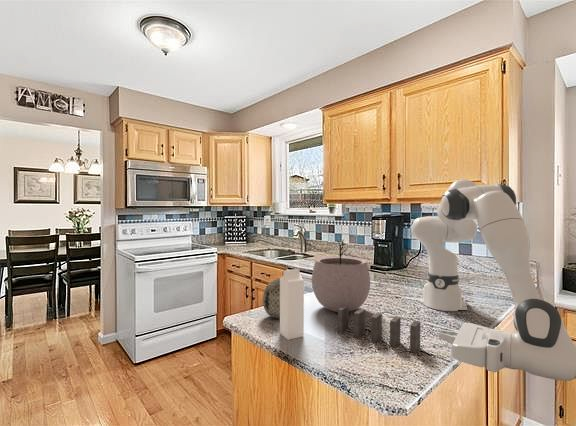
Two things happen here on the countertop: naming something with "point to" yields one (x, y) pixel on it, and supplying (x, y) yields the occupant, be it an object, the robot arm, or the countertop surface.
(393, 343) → the domino
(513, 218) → the robot arm
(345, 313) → the domino
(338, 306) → the plant pot
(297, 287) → the milk
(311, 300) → the countertop surface
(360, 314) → the domino
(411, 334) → the domino
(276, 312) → the decorative egg
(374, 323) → the domino
